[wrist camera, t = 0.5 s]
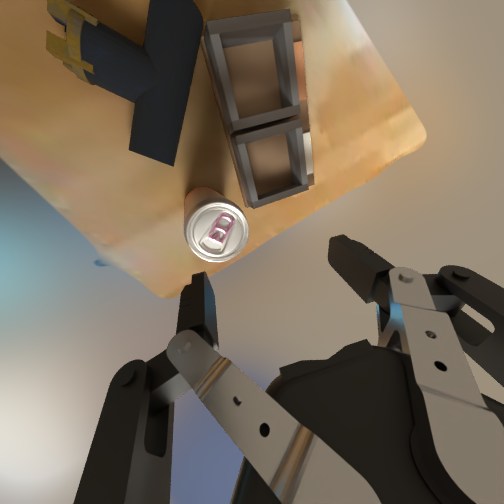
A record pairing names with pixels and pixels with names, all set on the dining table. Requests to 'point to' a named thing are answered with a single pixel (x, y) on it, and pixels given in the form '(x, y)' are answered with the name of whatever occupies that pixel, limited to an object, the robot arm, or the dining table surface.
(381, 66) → the dining table surface
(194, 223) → the beverage can
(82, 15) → the pipe connector
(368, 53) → the dining table surface
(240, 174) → the socket board
